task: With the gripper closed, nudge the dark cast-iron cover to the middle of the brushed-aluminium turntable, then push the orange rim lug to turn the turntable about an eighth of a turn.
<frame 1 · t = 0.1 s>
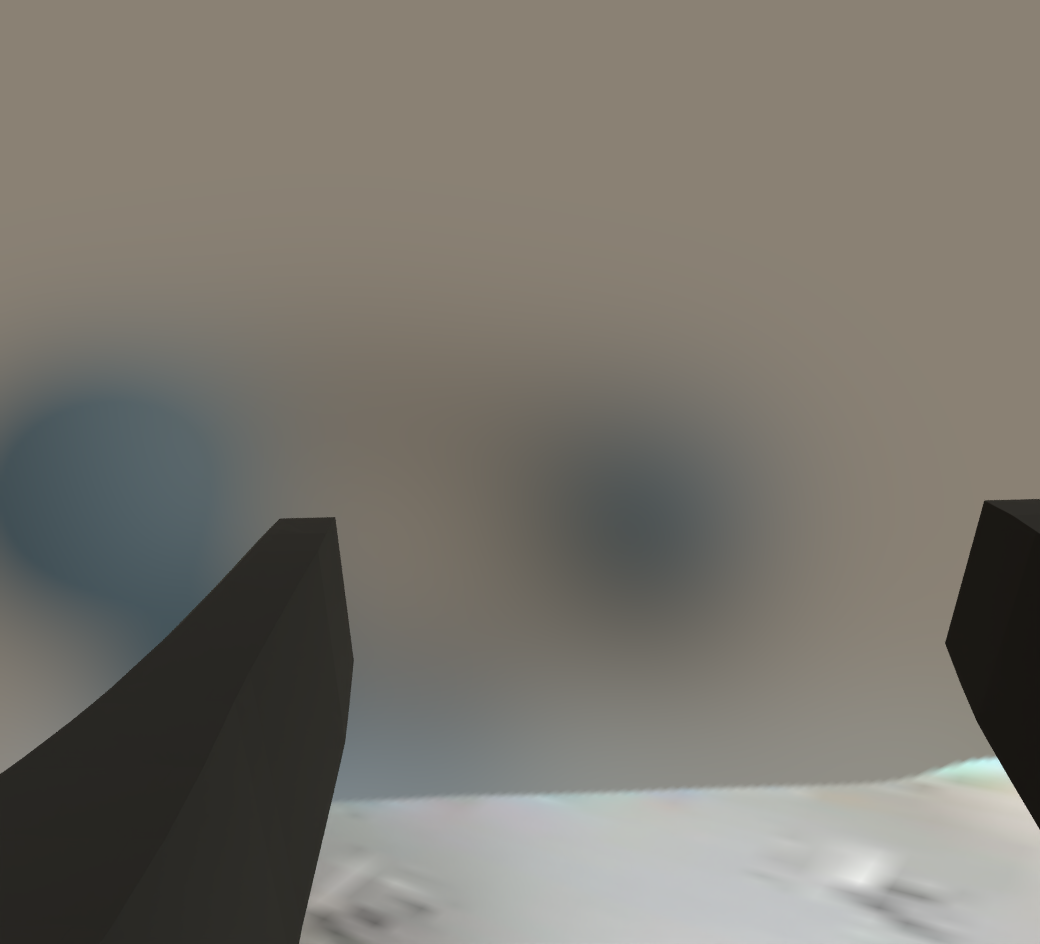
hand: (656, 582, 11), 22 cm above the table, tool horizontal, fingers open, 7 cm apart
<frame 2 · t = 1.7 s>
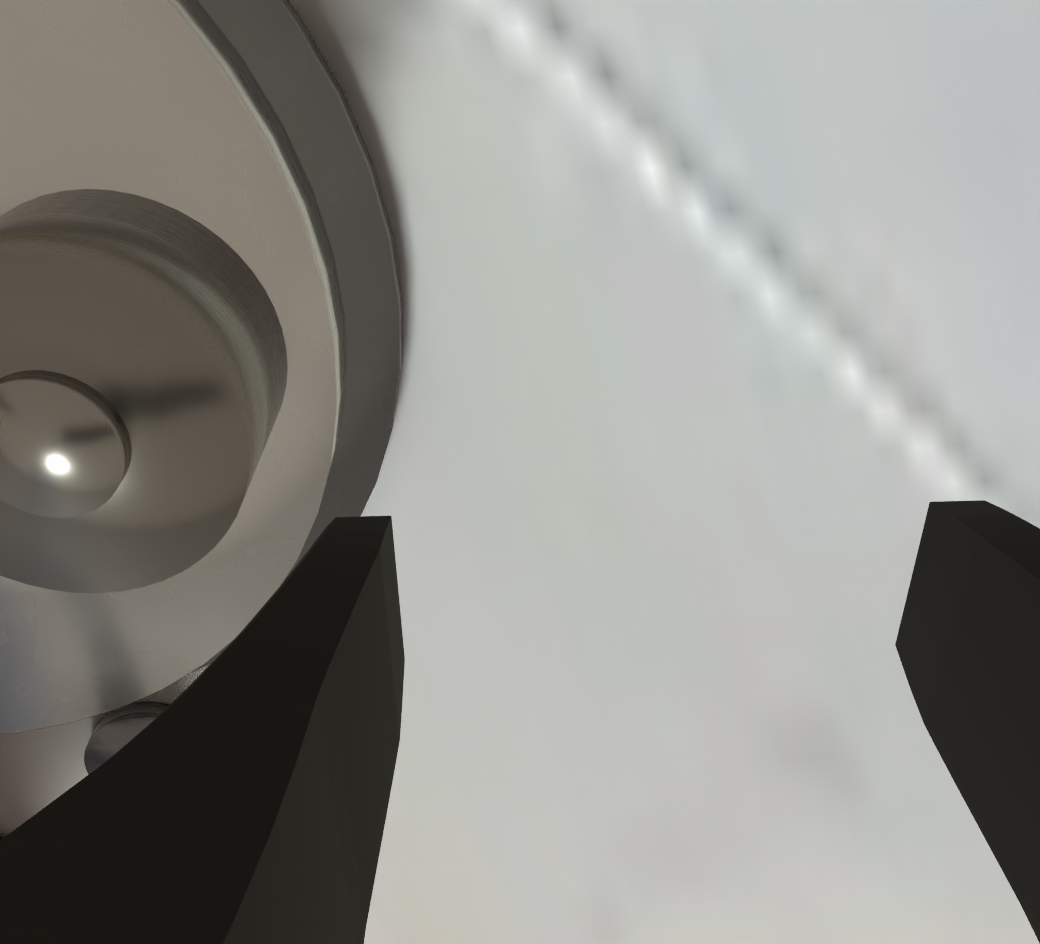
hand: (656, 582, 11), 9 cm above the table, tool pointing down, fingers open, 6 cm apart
cover: (124, 351, 17), point 2 cm above the table, touching turntable
small grey dumbbell: (156, 748, 25), on the table
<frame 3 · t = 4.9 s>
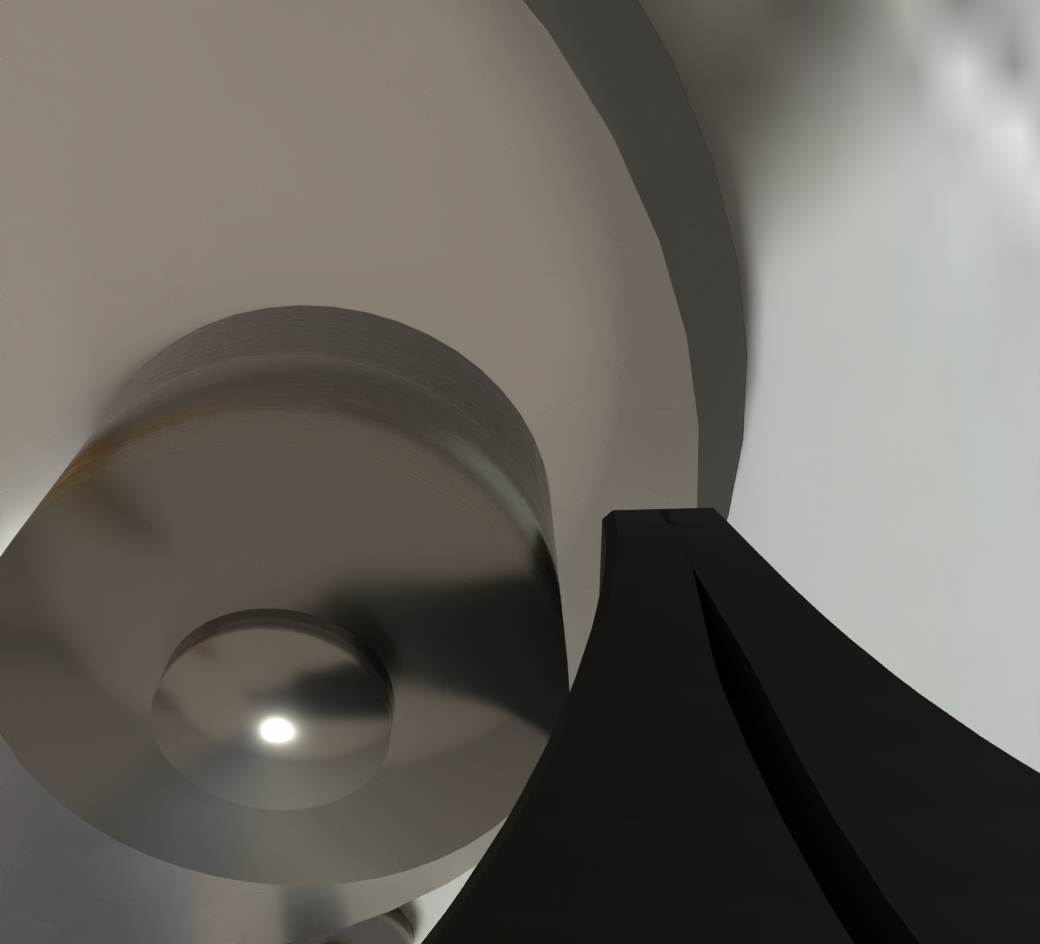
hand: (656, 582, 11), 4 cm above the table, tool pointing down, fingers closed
cover: (327, 517, 12), point 2 cm above the table, touching gripper, turntable
small grey dumbbell: (336, 938, 20), on the table
turntable base: (51, 436, 14), on the table
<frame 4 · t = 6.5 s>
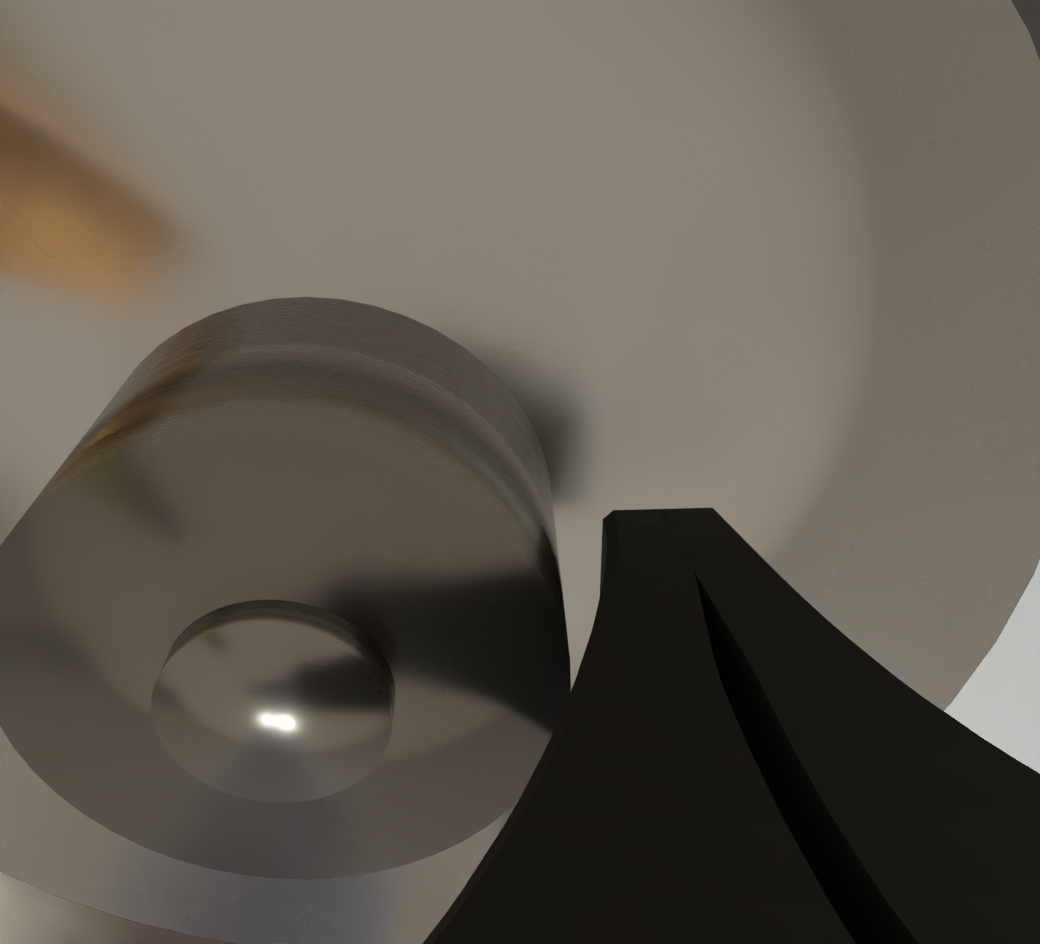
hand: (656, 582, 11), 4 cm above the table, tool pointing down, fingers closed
turntable: (349, 548, 12), point 3 cm above the table, hinge at 0.0°, touching cover
cover: (327, 510, 12), point 2 cm above the table, touching gripper, turntable
turntable base: (374, 429, 14), on the table
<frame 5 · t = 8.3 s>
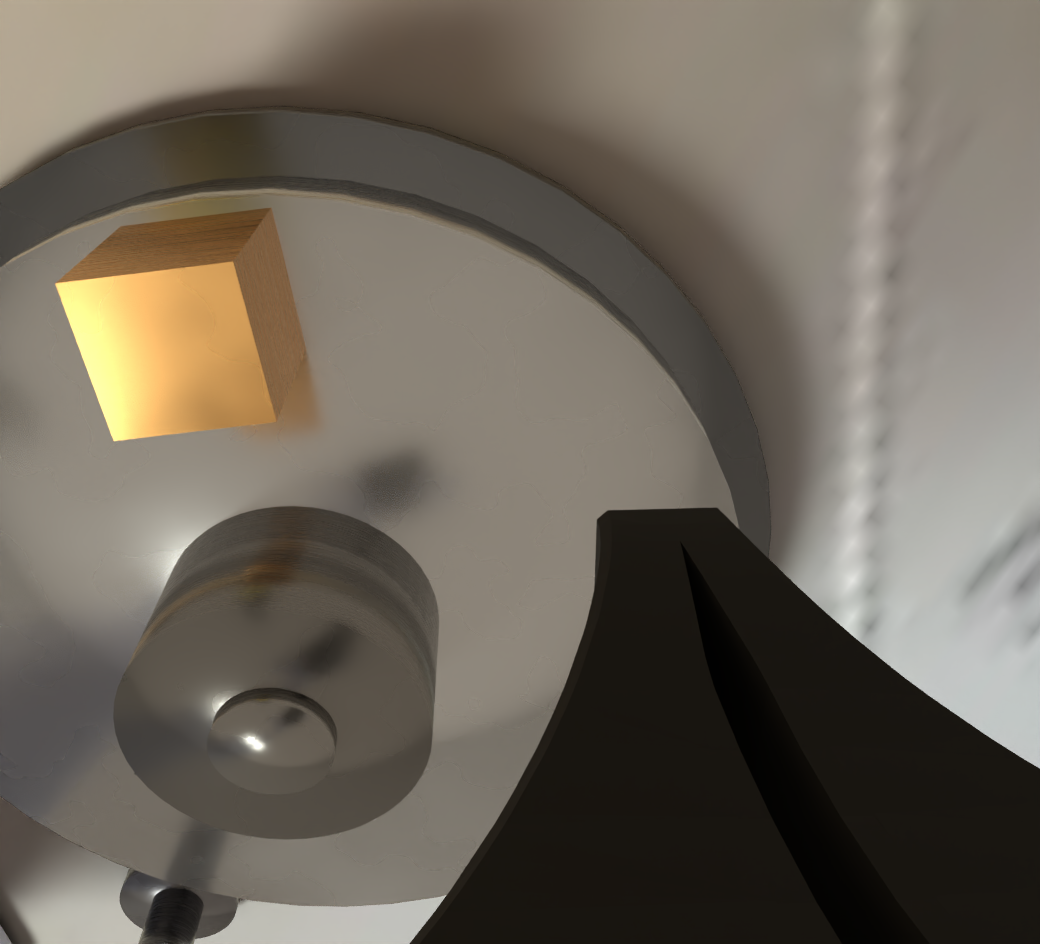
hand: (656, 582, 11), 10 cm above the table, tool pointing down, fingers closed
turntable: (309, 652, 20), point 3 cm above the table, hinge at 0.0°, touching cover
cover: (303, 620, 20), point 2 cm above the table, touching turntable
small grey dumbbell: (184, 885, 28), on the table
turntable base: (329, 564, 22), on the table
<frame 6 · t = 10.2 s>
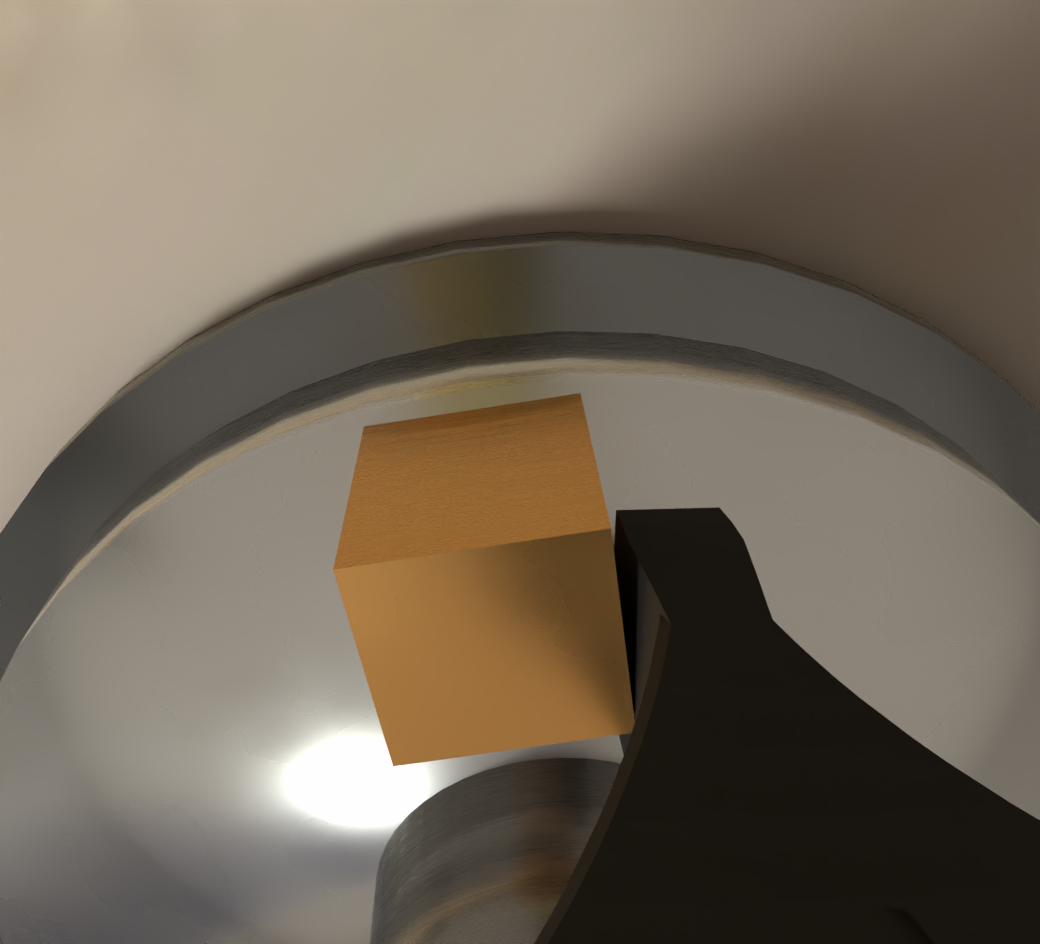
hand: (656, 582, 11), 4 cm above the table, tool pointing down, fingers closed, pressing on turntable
turntable: (570, 934, 15), point 3 cm above the table, hinge at 7.8°, touching cover, gripper
cover: (555, 885, 15), point 2 cm above the table, touching turntable
turntable base: (555, 780, 17), on the table
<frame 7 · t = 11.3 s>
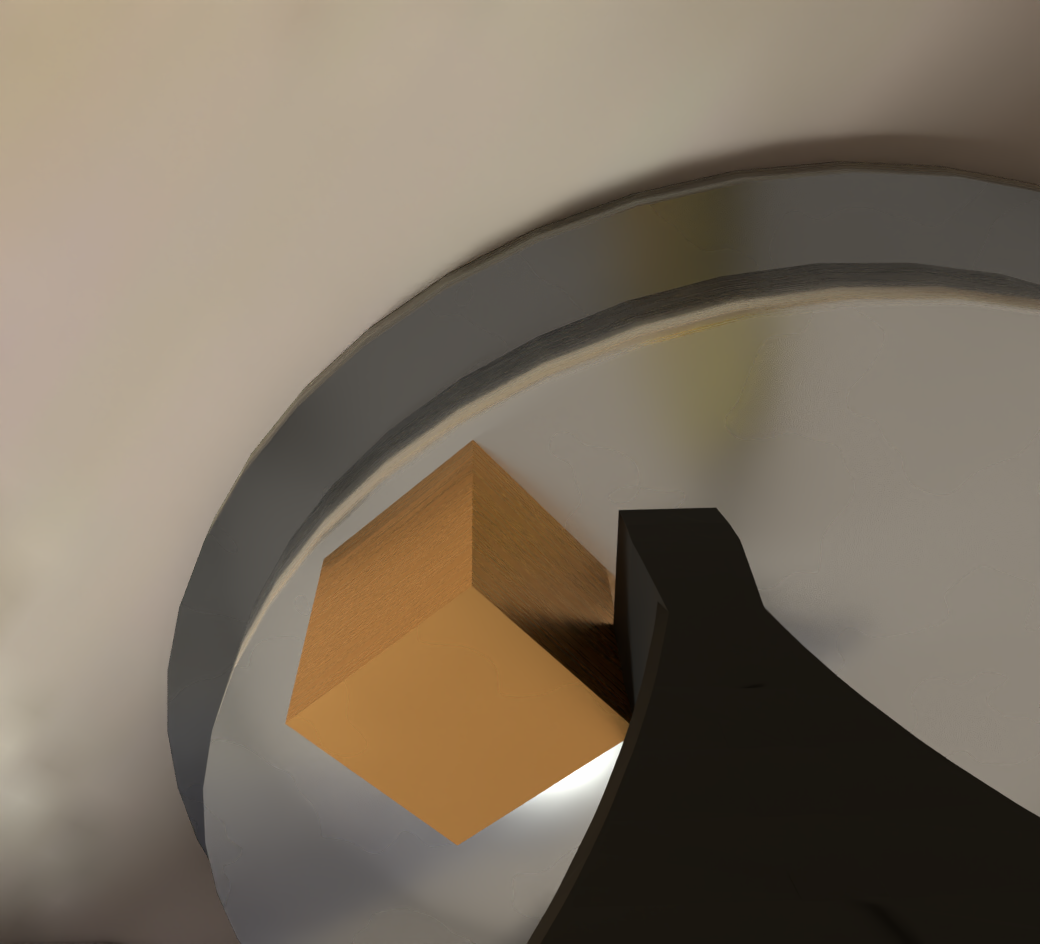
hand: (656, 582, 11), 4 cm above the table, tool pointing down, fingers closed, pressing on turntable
turntable: (803, 887, 15), point 3 cm above the table, hinge at 40.2°, touching cover, gripper
turntable base: (753, 737, 17), on the table
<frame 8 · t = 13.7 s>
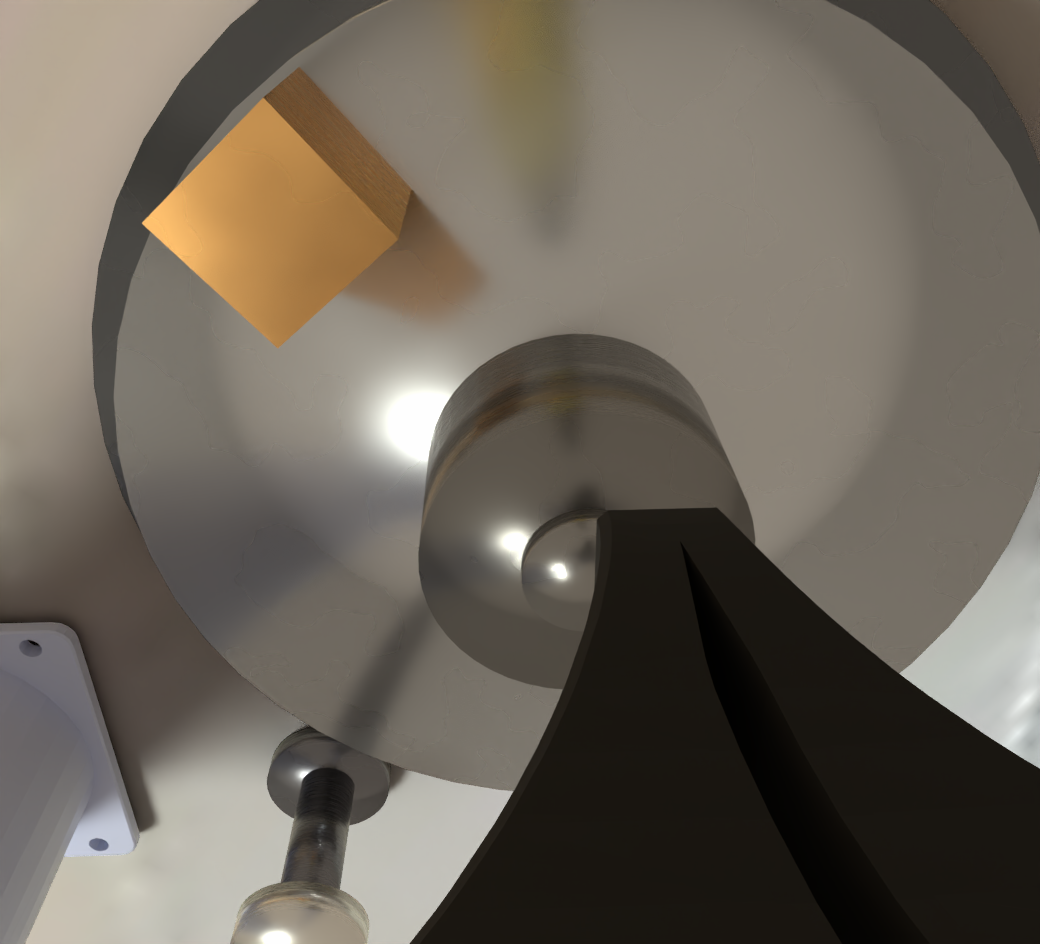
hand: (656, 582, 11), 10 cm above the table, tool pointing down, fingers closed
turntable: (591, 491, 18), point 3 cm above the table, hinge at 40.2°, touching cover
cover: (572, 467, 19), point 2 cm above the table, touching turntable
small grey dumbbell: (331, 769, 26), on the table
turntable base: (578, 418, 21), on the table
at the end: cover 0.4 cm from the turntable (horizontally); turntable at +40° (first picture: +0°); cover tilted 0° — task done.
